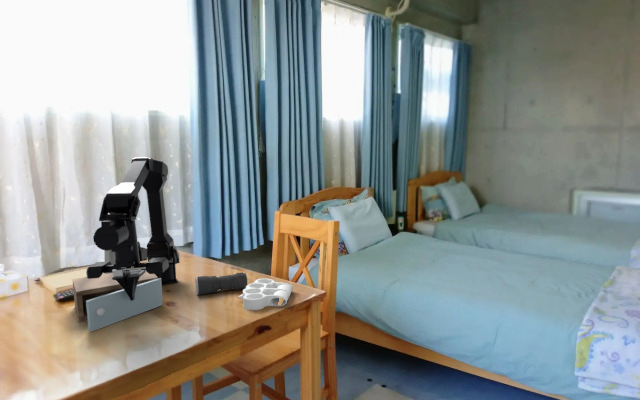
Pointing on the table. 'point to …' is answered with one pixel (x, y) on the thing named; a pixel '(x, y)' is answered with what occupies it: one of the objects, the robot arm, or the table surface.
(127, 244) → the robot arm
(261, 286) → the white multi-hole tray
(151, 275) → the cubby
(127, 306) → the door
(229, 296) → the table surface
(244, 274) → the flashlight
